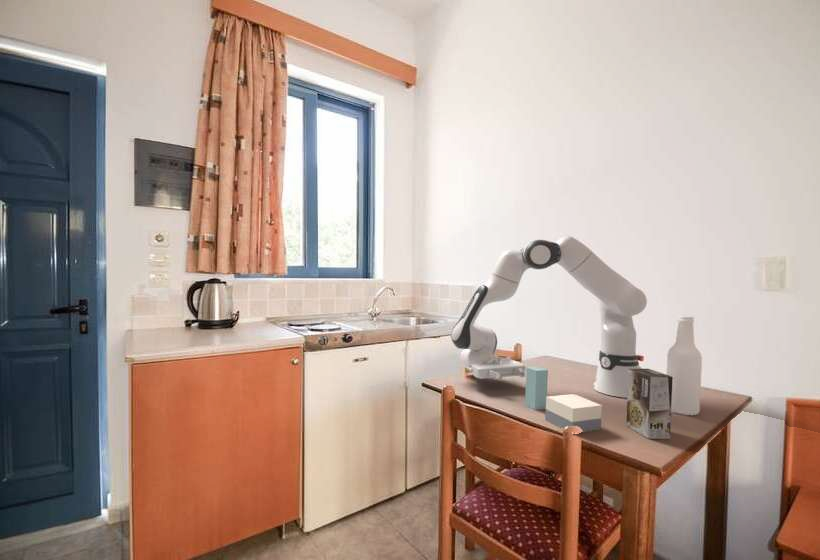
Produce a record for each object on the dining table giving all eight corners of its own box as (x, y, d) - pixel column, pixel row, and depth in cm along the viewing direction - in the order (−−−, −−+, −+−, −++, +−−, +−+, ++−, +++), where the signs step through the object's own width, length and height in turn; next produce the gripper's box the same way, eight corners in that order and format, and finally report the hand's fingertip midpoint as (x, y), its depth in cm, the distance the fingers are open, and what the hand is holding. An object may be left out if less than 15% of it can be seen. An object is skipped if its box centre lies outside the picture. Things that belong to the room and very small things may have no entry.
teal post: (536, 403, 122) (537, 366, 122) (546, 408, 118) (547, 369, 118) (525, 405, 120) (526, 367, 120) (534, 409, 116) (536, 370, 116)
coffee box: (671, 439, 98) (674, 376, 98) (647, 439, 97) (650, 376, 97) (646, 425, 107) (649, 368, 107) (624, 425, 106) (627, 367, 106)
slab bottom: (572, 417, 112) (572, 405, 112) (600, 430, 103) (601, 418, 103) (545, 421, 108) (545, 409, 108) (572, 435, 99) (572, 422, 99)
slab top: (573, 405, 112) (573, 393, 112) (601, 418, 102) (601, 405, 102) (545, 408, 108) (546, 396, 108) (572, 422, 99) (572, 408, 99)
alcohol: (694, 418, 114) (699, 318, 113) (660, 409, 120) (665, 315, 120) (702, 412, 119) (707, 316, 119) (670, 404, 126) (674, 314, 126)
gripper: (465, 359, 139) (486, 368, 126) (511, 356, 147) (535, 364, 134) (464, 376, 139) (485, 387, 126) (510, 372, 147) (535, 382, 134)
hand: (512, 375), depth 130 cm, fingers open, 8 cm apart
